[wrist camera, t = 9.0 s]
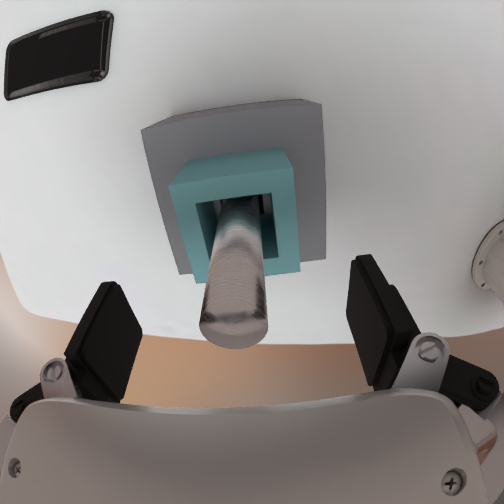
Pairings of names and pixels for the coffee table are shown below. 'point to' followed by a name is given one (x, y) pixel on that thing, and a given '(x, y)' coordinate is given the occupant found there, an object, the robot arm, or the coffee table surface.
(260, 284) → the shaft
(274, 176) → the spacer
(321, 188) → the bearing block
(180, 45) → the coffee table surface
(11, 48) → the phone
